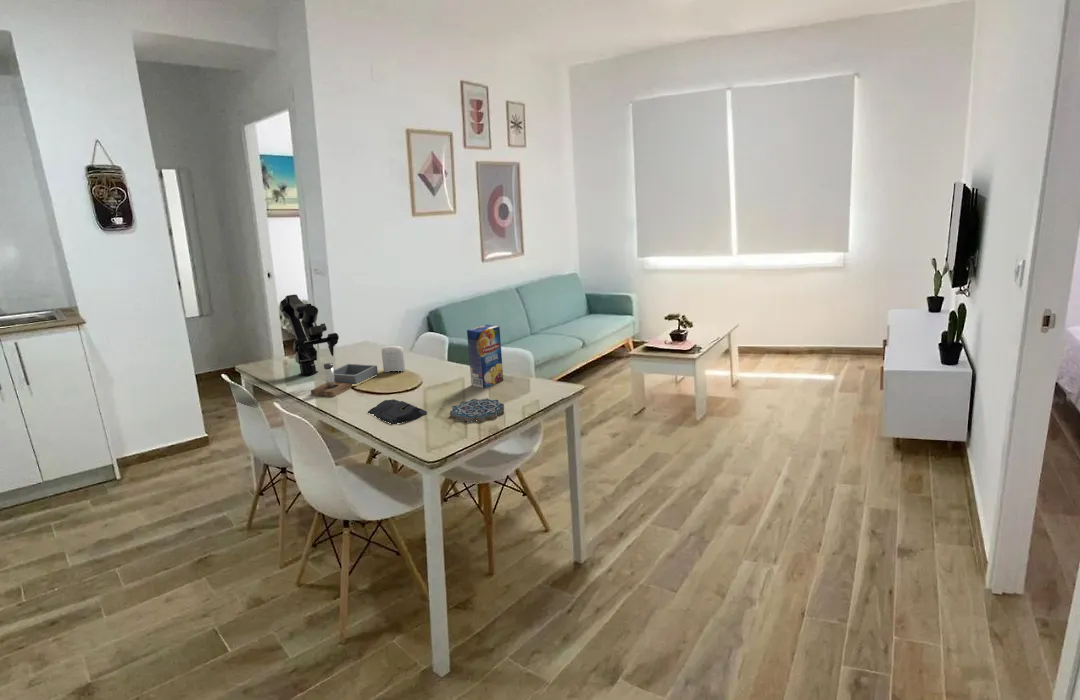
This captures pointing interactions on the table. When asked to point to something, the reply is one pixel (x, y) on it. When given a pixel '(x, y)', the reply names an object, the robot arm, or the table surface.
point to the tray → (354, 373)
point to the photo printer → (393, 358)
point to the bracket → (335, 391)
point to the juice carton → (485, 355)
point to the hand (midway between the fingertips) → (322, 357)
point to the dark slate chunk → (396, 411)
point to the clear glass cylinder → (329, 375)
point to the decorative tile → (477, 410)
